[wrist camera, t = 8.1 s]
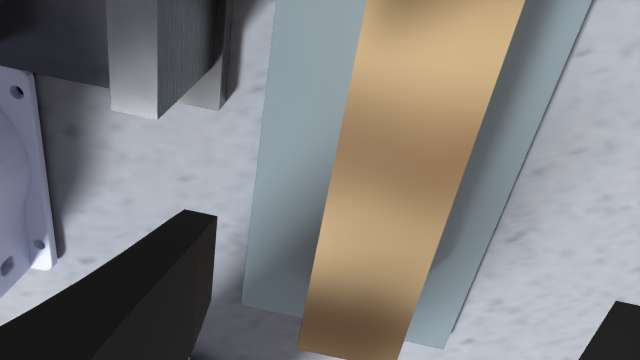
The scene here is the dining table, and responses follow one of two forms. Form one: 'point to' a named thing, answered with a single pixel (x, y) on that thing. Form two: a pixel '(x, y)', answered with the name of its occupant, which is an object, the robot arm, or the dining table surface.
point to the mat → (322, 139)
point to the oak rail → (399, 166)
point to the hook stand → (125, 48)
